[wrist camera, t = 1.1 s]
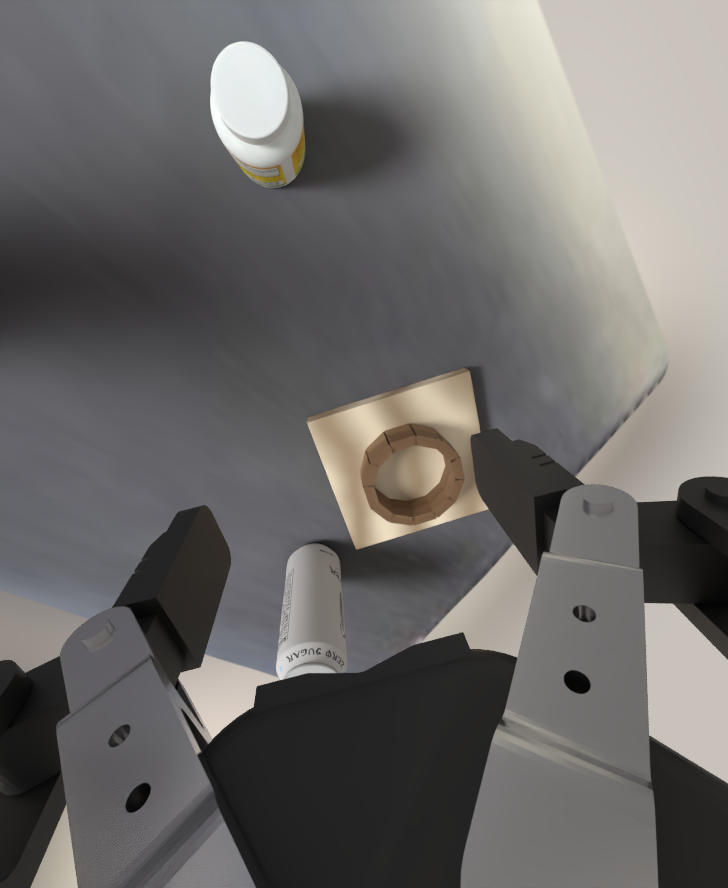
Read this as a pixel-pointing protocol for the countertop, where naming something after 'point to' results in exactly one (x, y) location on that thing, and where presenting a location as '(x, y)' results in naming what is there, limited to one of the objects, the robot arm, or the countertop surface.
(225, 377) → the countertop surface
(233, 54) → the supplement bottle
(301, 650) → the energy drink can
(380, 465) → the can holder
